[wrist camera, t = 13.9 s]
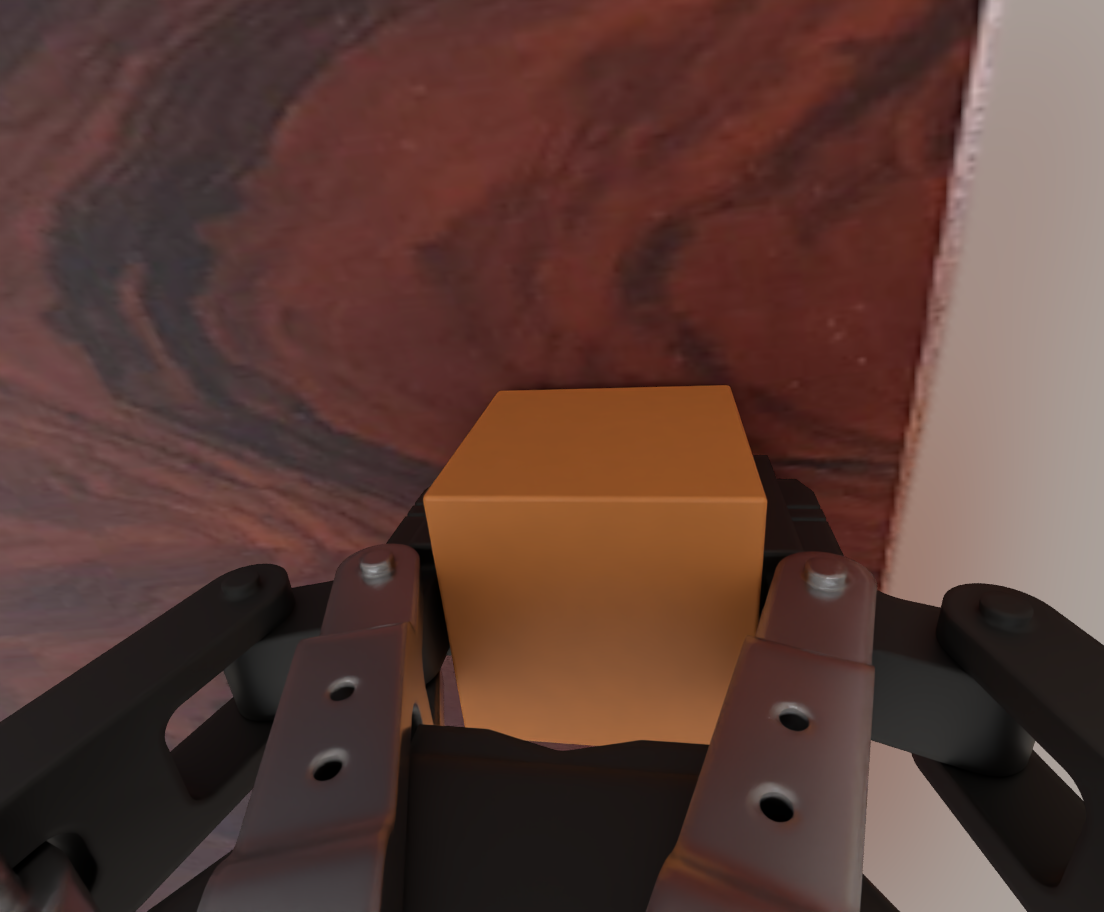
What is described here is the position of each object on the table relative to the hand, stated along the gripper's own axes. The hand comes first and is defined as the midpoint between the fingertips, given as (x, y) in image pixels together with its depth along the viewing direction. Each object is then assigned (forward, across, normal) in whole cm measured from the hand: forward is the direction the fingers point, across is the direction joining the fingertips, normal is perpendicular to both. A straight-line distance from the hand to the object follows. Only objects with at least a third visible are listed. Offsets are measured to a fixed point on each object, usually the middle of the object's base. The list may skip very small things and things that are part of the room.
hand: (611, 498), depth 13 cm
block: (0, 0, 0) cm, 0 cm away
